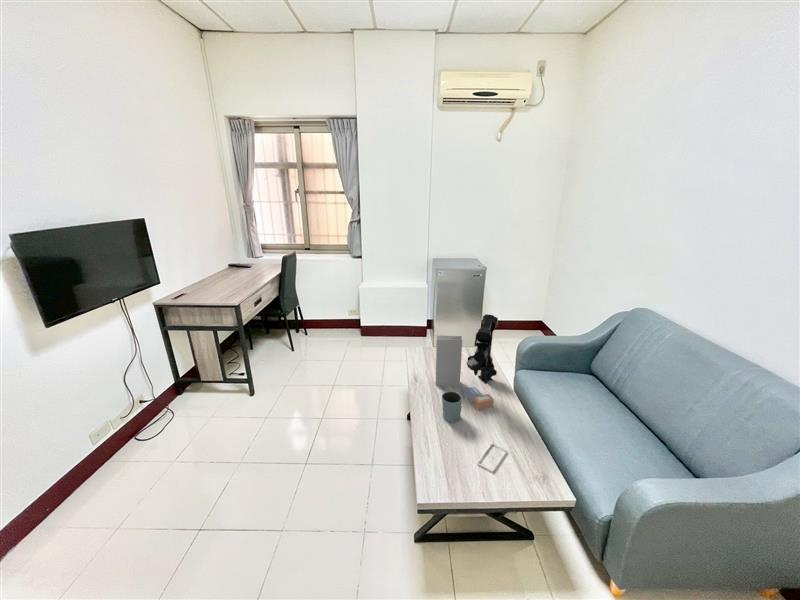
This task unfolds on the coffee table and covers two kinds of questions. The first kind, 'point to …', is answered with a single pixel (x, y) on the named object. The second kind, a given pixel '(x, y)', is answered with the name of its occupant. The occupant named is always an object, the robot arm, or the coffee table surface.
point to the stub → (483, 402)
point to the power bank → (498, 462)
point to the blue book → (471, 393)
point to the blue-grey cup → (451, 406)
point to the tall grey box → (448, 360)
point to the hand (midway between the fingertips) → (480, 379)
